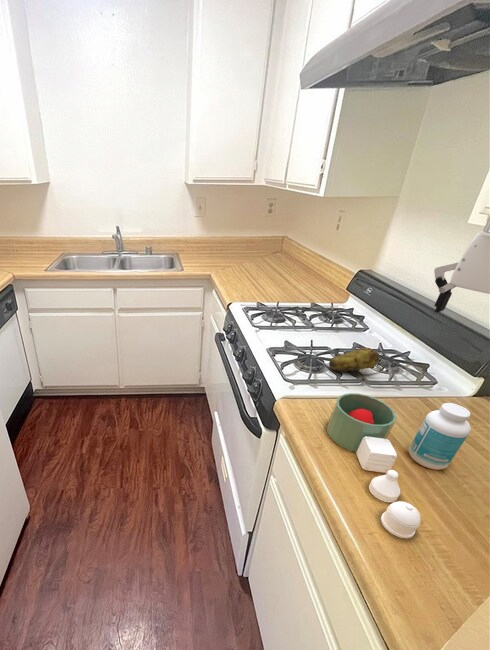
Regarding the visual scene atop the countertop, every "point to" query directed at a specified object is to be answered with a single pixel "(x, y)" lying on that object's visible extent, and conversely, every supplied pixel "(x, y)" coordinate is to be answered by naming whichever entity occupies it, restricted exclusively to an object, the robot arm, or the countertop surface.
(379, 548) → the countertop surface
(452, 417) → the pill bottle
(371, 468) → the container set
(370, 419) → the cap
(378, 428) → the cup
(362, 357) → the potato
